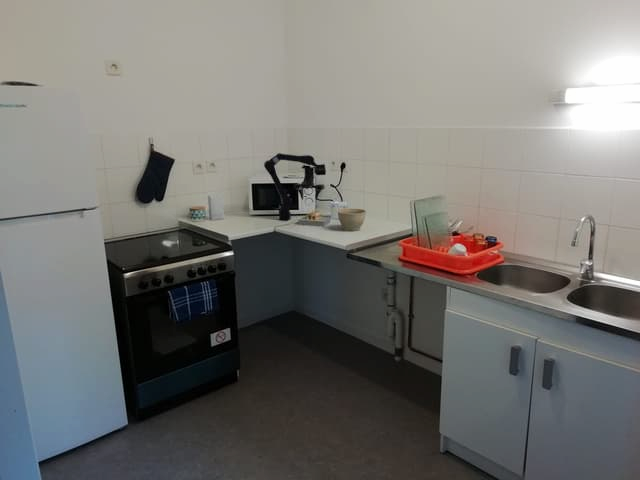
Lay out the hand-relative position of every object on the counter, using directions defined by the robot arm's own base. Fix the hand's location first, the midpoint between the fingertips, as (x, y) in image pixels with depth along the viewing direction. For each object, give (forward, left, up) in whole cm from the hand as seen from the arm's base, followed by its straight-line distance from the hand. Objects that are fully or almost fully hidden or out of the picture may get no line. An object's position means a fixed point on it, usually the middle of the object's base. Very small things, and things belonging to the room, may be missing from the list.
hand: (309, 200), depth 315 cm
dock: (+8, -13, -12) cm, 19 cm away
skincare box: (-56, -20, -12) cm, 61 cm away
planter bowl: (+34, -22, -12) cm, 42 cm away
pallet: (+8, -13, -9) cm, 18 cm away
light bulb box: (+18, +6, -12) cm, 23 cm away
